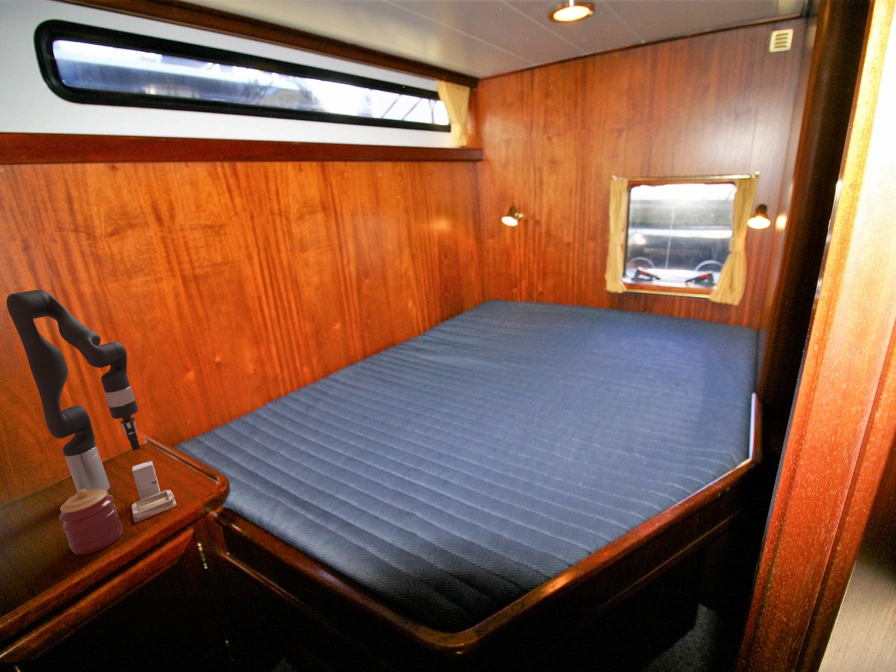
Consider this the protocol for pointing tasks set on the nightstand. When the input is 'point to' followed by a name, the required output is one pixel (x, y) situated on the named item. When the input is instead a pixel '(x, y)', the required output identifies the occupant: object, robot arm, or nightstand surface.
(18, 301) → the robot arm
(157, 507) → the white shallow tray
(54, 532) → the nightstand surface
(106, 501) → the canister
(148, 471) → the skincare box
